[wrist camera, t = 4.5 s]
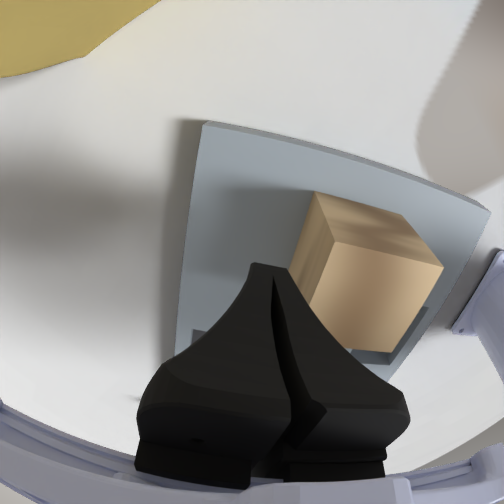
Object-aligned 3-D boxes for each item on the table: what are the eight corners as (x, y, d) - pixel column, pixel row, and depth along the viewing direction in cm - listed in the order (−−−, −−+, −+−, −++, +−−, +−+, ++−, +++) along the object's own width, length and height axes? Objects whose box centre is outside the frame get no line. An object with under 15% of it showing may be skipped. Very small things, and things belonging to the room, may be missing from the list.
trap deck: (478, 202, 16) (513, 231, 13) (335, 425, 29) (339, 456, 26) (208, 120, 15) (191, 133, 11) (174, 406, 28) (167, 439, 25)
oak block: (401, 214, 15) (444, 267, 11) (367, 289, 18) (391, 352, 14) (314, 190, 15) (334, 241, 11) (287, 274, 17) (293, 341, 13)
